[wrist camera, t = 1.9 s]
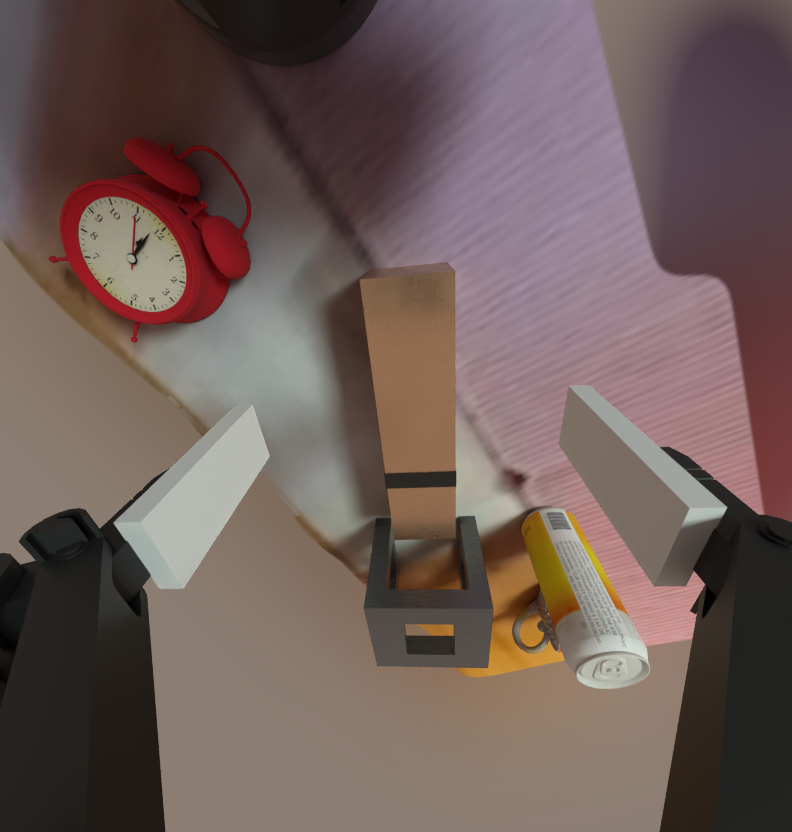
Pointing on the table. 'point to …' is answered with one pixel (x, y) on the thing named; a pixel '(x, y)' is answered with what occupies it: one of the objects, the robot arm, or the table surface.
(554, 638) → the mug
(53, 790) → the robot arm
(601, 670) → the yellow can
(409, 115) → the table surface
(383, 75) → the table surface
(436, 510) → the banded wooden beam
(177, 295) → the alarm clock
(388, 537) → the collar block
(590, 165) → the table surface
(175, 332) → the table surface
